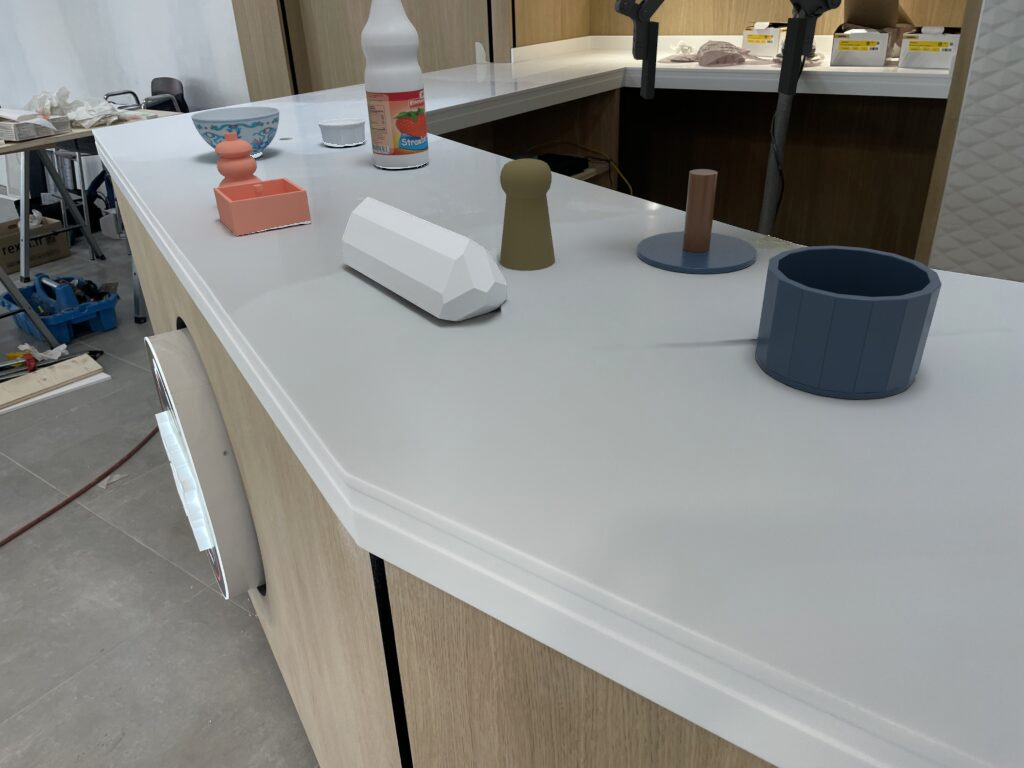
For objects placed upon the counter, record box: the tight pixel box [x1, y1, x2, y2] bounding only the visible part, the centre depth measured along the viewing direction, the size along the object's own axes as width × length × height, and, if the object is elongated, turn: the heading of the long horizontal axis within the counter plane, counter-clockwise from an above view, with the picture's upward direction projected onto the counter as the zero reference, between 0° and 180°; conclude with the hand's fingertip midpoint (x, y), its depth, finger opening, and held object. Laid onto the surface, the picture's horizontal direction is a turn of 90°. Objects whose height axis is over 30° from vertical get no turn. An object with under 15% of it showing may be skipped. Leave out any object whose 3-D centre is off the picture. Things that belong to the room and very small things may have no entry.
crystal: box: [341, 196, 509, 322], centre depth 72 cm, size 7×7×24 cm
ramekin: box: [317, 117, 366, 145], centre depth 142 cm, size 9×9×4 cm
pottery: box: [213, 132, 312, 237], centre depth 97 cm, size 18×10×10 cm, turn 32°
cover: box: [636, 168, 758, 275], centre depth 76 cm, size 12×12×9 cm
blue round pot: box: [755, 245, 942, 400], centre depth 55 cm, size 11×11×8 cm
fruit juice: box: [360, 0, 430, 167], centre depth 118 cm, size 9×9×28 cm
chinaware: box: [190, 106, 280, 155], centre depth 133 cm, size 15×15×8 cm
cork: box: [499, 158, 556, 272], centre depth 75 cm, size 6×6×11 cm
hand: (716, 95), depth 70 cm, fingers open, 13 cm apart
